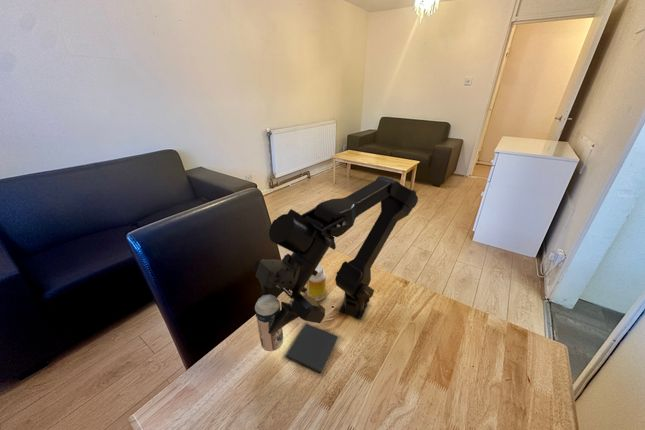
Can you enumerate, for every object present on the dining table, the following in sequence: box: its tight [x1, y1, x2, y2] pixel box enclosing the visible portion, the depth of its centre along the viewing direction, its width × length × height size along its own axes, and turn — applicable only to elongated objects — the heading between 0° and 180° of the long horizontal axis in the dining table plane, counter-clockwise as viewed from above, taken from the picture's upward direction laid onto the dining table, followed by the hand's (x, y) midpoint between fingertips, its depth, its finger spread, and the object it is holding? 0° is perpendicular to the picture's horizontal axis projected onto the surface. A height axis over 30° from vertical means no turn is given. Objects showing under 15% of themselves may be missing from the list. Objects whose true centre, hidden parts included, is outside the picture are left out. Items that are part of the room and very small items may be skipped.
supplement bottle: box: [306, 263, 327, 302], centre depth 77 cm, size 6×6×10 cm
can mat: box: [285, 323, 339, 374], centre depth 63 cm, size 10×9×1 cm
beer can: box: [254, 295, 284, 352], centre depth 53 cm, size 5×5×12 cm
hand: (263, 325), depth 52 cm, fingers closed on beer can, 5 cm apart
